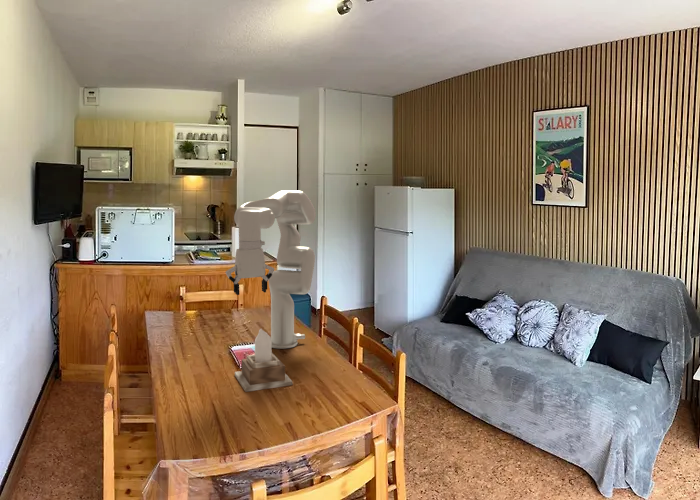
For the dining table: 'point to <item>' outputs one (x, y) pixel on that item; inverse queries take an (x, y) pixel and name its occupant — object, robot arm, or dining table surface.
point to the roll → (263, 347)
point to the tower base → (262, 374)
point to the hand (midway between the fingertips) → (250, 293)
